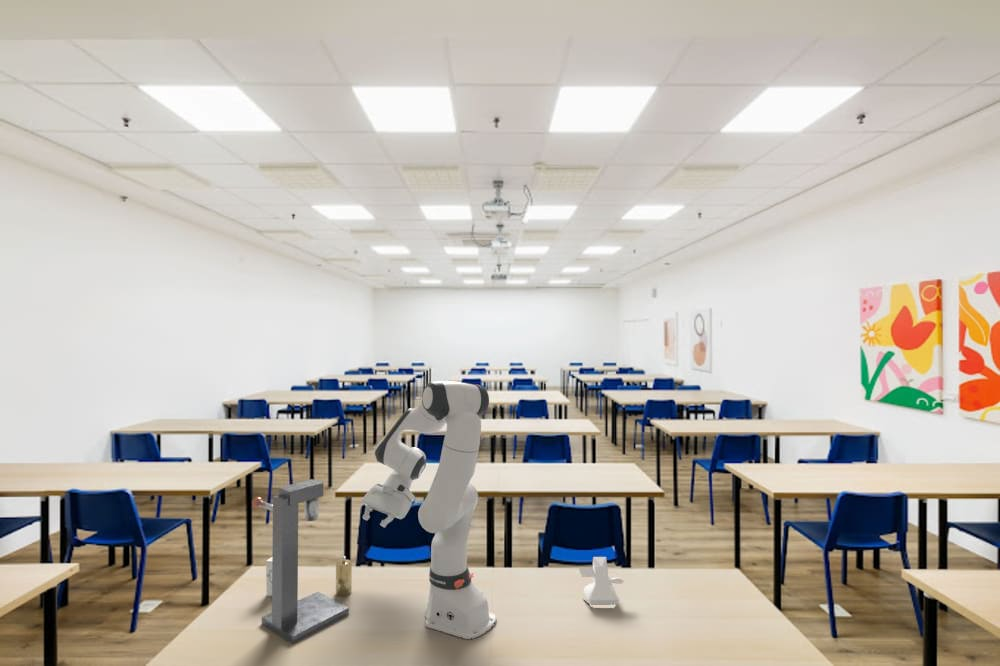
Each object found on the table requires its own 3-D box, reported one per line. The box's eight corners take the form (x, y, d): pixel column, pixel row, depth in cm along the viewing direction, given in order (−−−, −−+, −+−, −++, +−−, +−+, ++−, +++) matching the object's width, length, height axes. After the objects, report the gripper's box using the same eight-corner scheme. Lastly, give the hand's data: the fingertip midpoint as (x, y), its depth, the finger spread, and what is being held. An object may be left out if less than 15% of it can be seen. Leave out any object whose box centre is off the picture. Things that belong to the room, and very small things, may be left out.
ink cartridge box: (281, 583, 178) (281, 540, 178) (294, 585, 177) (294, 542, 177) (265, 596, 170) (265, 551, 170) (278, 597, 169) (279, 552, 169)
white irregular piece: (626, 610, 164) (627, 567, 163) (582, 610, 163) (583, 567, 163) (620, 596, 172) (620, 555, 172) (578, 596, 172) (578, 555, 172)
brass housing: (354, 592, 173) (354, 556, 173) (342, 598, 169) (342, 561, 169) (345, 587, 176) (345, 552, 176) (332, 593, 172) (332, 557, 172)
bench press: (348, 614, 159) (350, 481, 159) (292, 643, 144) (293, 497, 144) (302, 589, 174) (303, 467, 174) (246, 613, 159) (247, 480, 159)
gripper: (372, 477, 194) (349, 510, 187) (410, 489, 182) (387, 525, 174) (381, 486, 198) (359, 519, 190) (418, 499, 186) (397, 534, 178)
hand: (373, 522), depth 182 cm, fingers open, 8 cm apart
